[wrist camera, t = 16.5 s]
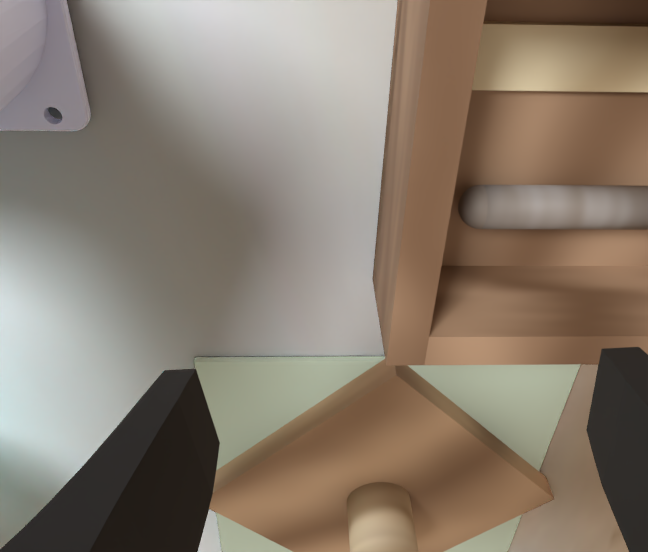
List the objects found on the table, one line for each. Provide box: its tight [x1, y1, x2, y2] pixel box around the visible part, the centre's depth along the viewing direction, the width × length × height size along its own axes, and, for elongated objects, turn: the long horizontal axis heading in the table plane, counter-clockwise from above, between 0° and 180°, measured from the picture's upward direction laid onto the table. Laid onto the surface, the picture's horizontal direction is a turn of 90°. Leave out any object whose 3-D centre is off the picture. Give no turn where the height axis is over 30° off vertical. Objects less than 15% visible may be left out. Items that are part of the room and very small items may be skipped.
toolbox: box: [373, 0, 648, 366], centre depth 17 cm, size 12×12×4 cm
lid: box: [209, 359, 554, 552], centre depth 28 cm, size 12×12×4 cm
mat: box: [194, 356, 581, 552], centre depth 30 cm, size 16×16×1 cm
